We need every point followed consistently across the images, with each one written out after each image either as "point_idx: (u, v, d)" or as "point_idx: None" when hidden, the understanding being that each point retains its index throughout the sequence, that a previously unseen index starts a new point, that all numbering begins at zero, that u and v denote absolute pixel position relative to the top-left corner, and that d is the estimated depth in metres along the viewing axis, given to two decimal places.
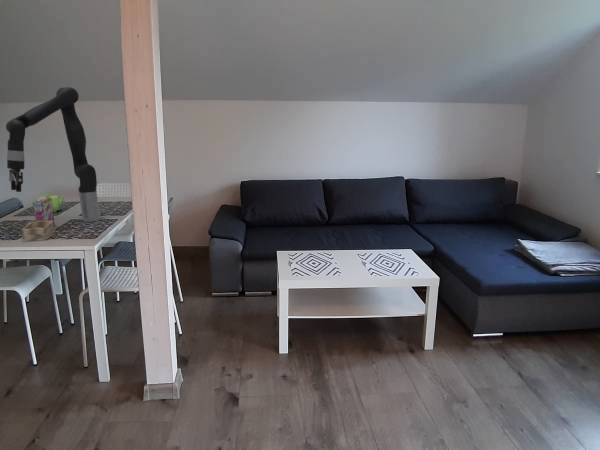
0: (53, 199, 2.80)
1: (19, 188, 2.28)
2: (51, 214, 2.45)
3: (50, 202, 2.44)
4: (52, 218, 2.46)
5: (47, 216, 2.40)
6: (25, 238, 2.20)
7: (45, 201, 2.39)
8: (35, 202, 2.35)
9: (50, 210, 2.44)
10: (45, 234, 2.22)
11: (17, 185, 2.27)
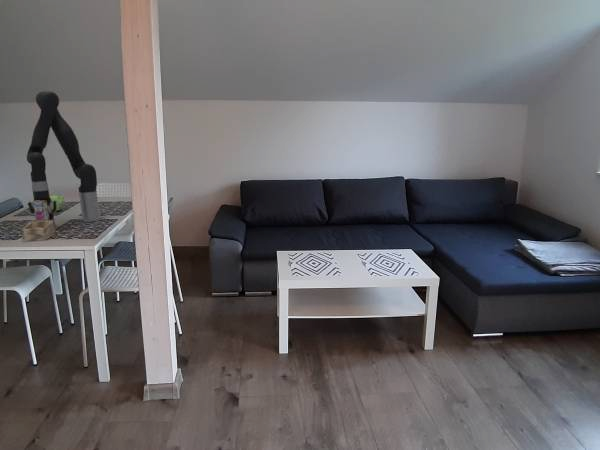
0: (53, 199, 2.80)
1: (53, 216, 2.43)
2: None
3: None
4: None
5: (47, 216, 2.40)
6: (25, 238, 2.20)
7: (45, 201, 2.39)
8: (35, 202, 2.35)
9: None
10: (45, 234, 2.22)
11: (51, 213, 2.42)
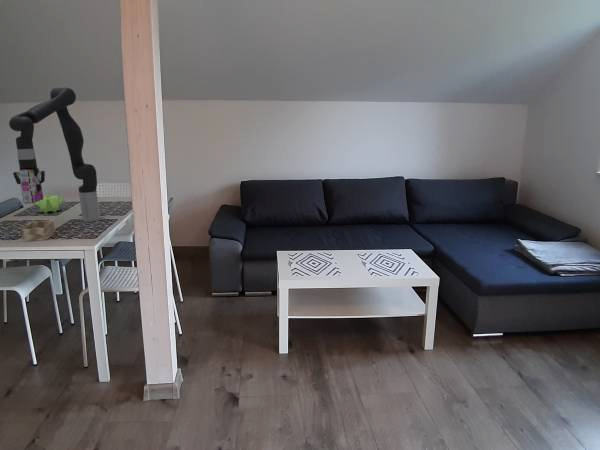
0: (53, 199, 2.80)
1: None
2: None
3: (38, 173, 2.25)
4: (40, 190, 2.27)
5: (34, 187, 2.21)
6: (25, 238, 2.20)
7: (32, 171, 2.19)
8: (21, 171, 2.15)
9: None
10: (45, 234, 2.22)
11: (39, 185, 2.23)
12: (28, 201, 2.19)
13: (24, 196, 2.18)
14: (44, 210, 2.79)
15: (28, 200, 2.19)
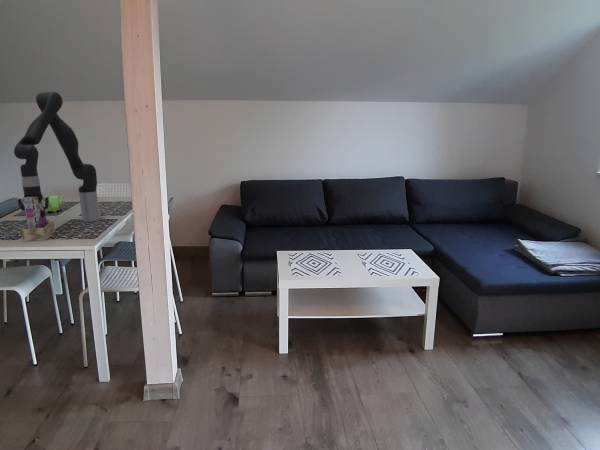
0: (53, 199, 2.80)
1: (44, 213, 2.27)
2: None
3: (42, 199, 2.28)
4: (44, 216, 2.30)
5: (38, 214, 2.24)
6: (25, 238, 2.20)
7: (36, 197, 2.23)
8: (25, 198, 2.19)
9: None
10: (45, 234, 2.22)
11: (43, 211, 2.26)
12: (32, 227, 2.22)
13: (28, 222, 2.21)
14: None
15: (33, 227, 2.22)
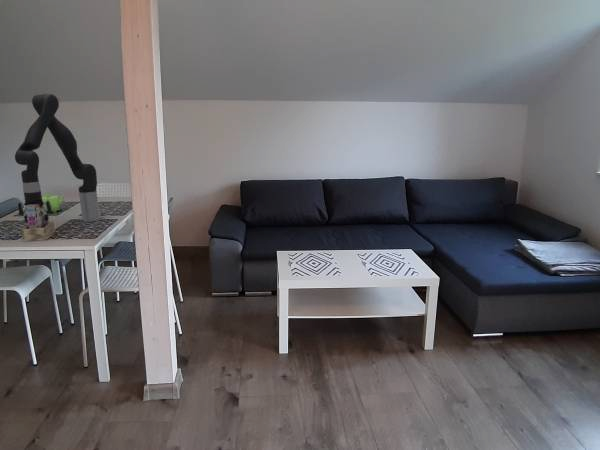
0: (53, 199, 2.80)
1: (48, 217, 2.28)
2: (44, 219, 2.30)
3: (43, 206, 2.29)
4: (45, 223, 2.31)
5: (40, 221, 2.25)
6: (25, 238, 2.20)
7: (38, 205, 2.24)
8: (28, 206, 2.20)
9: None
10: (45, 234, 2.22)
11: (46, 215, 2.27)
12: None
13: None
14: None
15: None
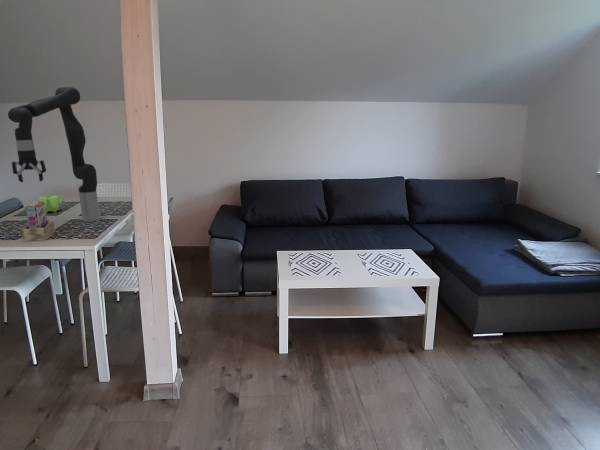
0: (53, 199, 2.80)
1: (42, 177, 2.26)
2: (44, 219, 2.30)
3: (43, 206, 2.29)
4: (45, 223, 2.31)
5: (40, 221, 2.25)
6: (25, 238, 2.20)
7: (38, 205, 2.24)
8: (28, 206, 2.20)
9: (44, 215, 2.29)
10: (45, 234, 2.22)
11: (41, 174, 2.24)
12: None
13: None
14: None
15: None
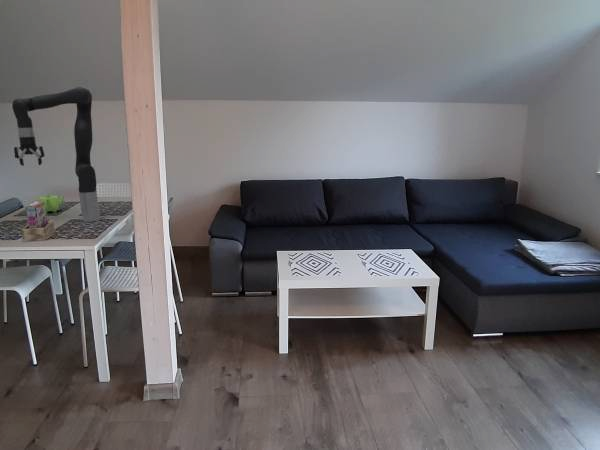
0: (53, 199, 2.80)
1: (41, 161, 2.51)
2: (44, 219, 2.30)
3: (43, 206, 2.29)
4: (45, 223, 2.31)
5: (40, 221, 2.25)
6: (25, 238, 2.20)
7: (38, 205, 2.24)
8: (28, 206, 2.20)
9: (44, 215, 2.29)
10: (45, 234, 2.22)
11: (40, 159, 2.50)
12: None
13: None
14: None
15: None
